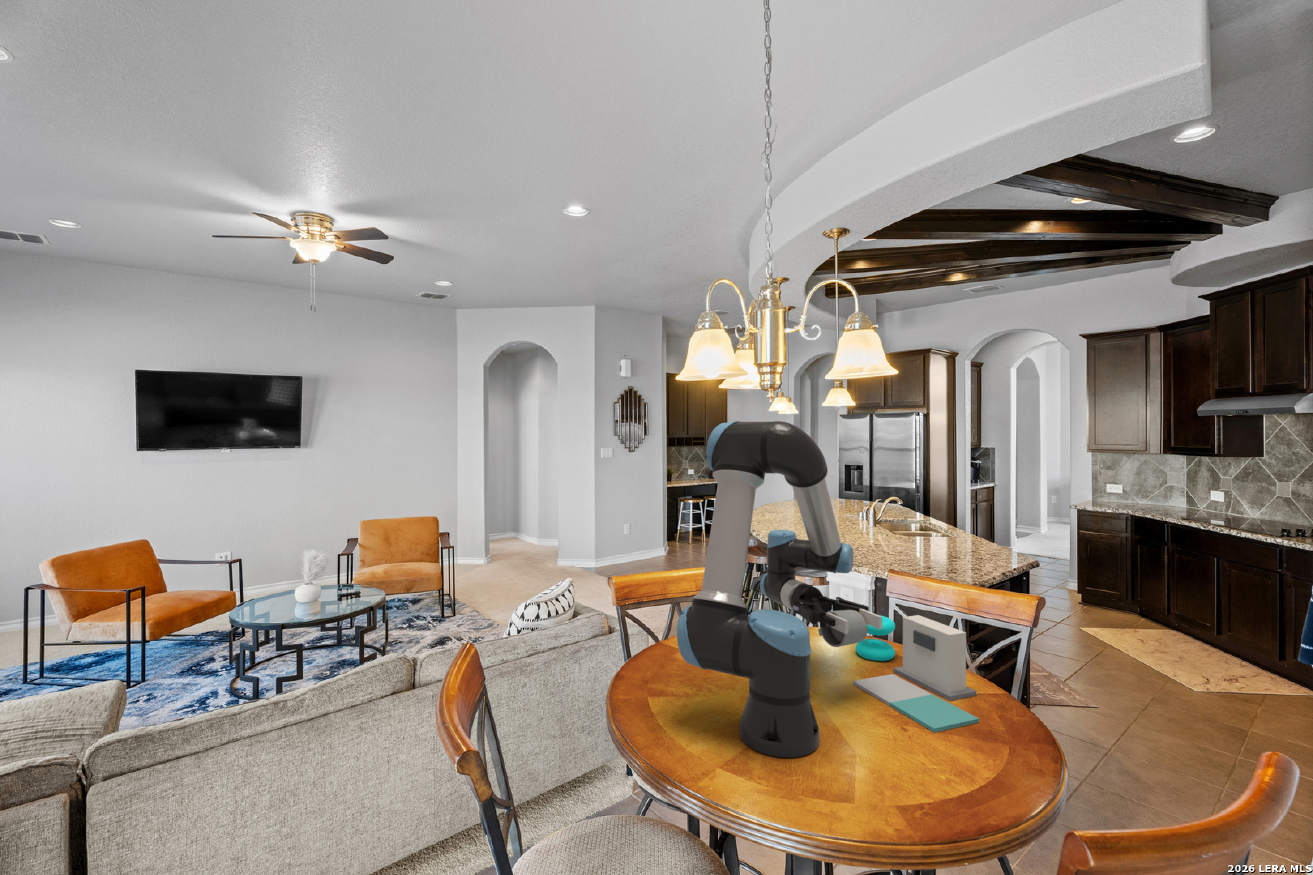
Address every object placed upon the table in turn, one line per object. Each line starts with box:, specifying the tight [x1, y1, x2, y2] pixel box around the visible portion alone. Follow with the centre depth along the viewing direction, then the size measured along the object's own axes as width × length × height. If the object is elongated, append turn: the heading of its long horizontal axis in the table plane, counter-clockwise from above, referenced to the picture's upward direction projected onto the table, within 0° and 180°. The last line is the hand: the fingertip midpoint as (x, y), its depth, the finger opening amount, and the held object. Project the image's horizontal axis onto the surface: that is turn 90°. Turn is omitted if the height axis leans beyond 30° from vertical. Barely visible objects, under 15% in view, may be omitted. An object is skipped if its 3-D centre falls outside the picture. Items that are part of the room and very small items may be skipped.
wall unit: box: [893, 614, 977, 702], centre depth 137 cm, size 8×17×14 cm, turn 21°
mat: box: [852, 673, 980, 733], centre depth 127 cm, size 12×24×1 cm, turn 21°
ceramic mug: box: [817, 610, 868, 648], centre depth 131 cm, size 11×8×8 cm
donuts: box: [855, 614, 896, 662], centre depth 155 cm, size 10×10×10 cm
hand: (863, 625), depth 124 cm, fingers closed on ceramic mug, 8 cm apart
